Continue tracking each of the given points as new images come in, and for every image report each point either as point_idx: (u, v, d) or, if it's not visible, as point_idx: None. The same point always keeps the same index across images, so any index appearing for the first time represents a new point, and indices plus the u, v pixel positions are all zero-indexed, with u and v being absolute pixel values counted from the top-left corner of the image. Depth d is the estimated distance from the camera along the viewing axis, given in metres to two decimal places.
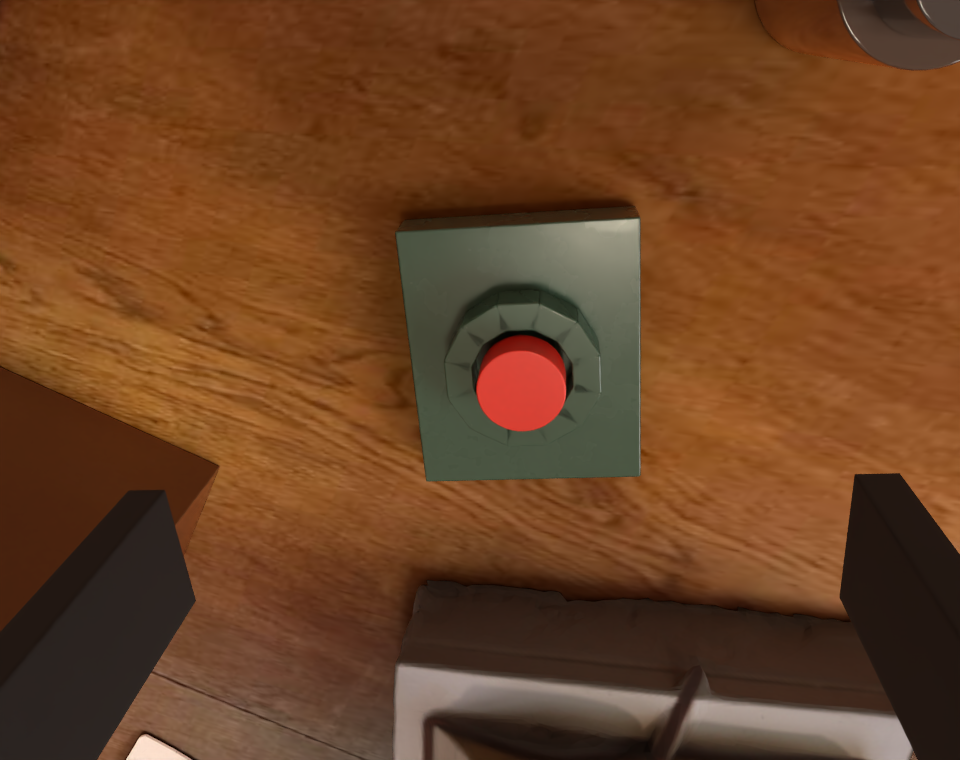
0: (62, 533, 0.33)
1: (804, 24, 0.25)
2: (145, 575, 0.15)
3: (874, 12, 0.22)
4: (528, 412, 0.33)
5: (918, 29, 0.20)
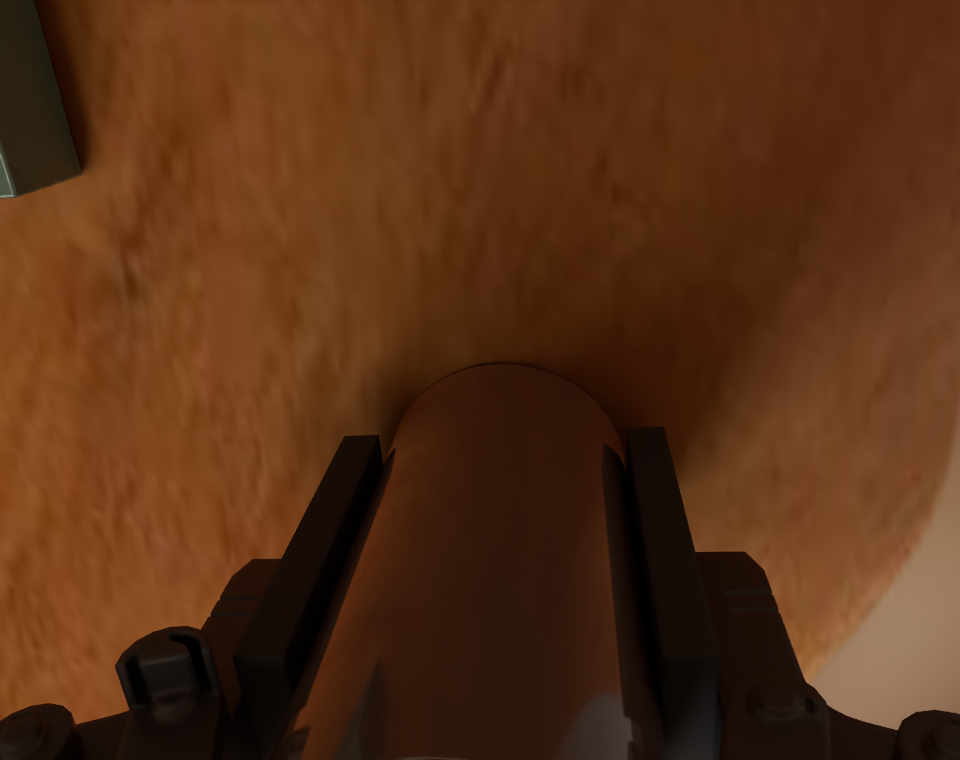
0: None
1: (383, 548, 0.12)
2: None
3: None
4: None
5: None
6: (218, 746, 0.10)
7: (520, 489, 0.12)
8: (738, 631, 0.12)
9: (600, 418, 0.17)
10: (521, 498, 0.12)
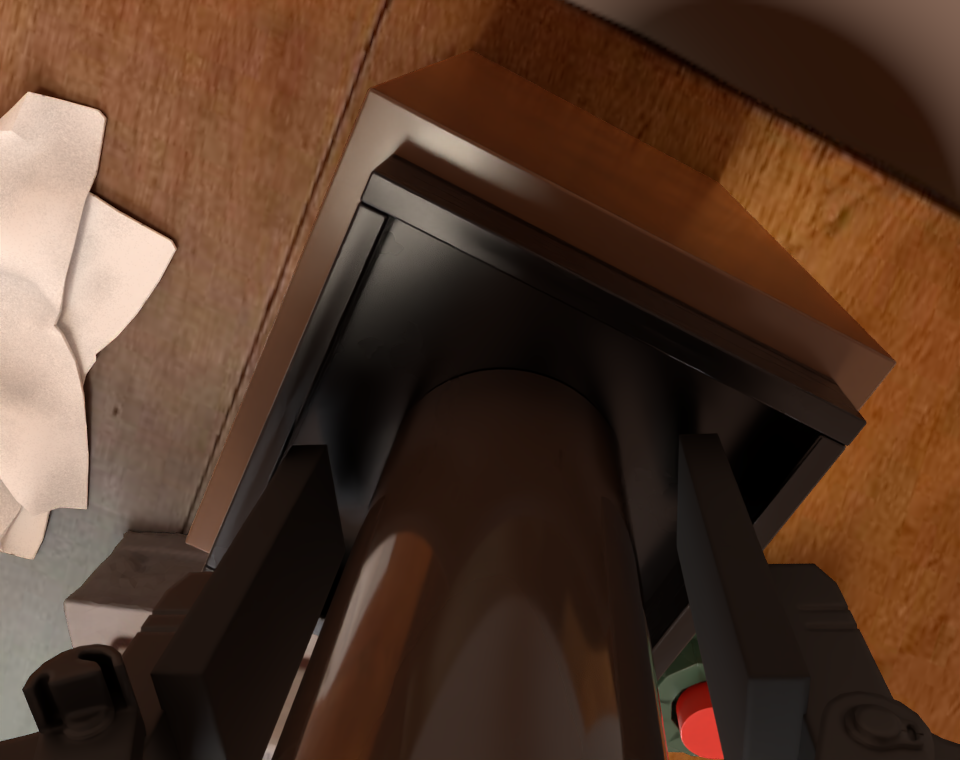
0: None
1: (382, 557, 0.12)
2: (316, 521, 0.16)
3: None
4: (698, 737, 0.41)
5: None
6: None
7: (520, 497, 0.12)
8: (818, 648, 0.11)
9: (600, 424, 0.16)
10: (521, 505, 0.12)
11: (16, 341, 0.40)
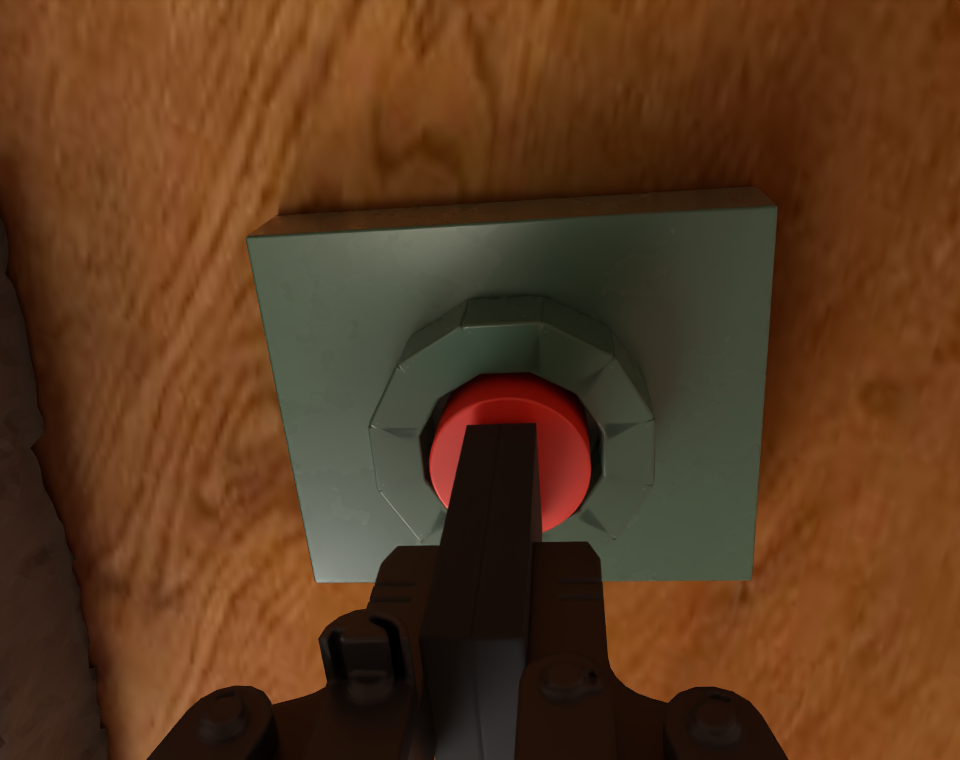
0: None
1: None
2: None
3: None
4: None
5: None
6: (407, 738, 0.10)
7: None
8: (560, 615, 0.12)
9: None
10: None
11: None
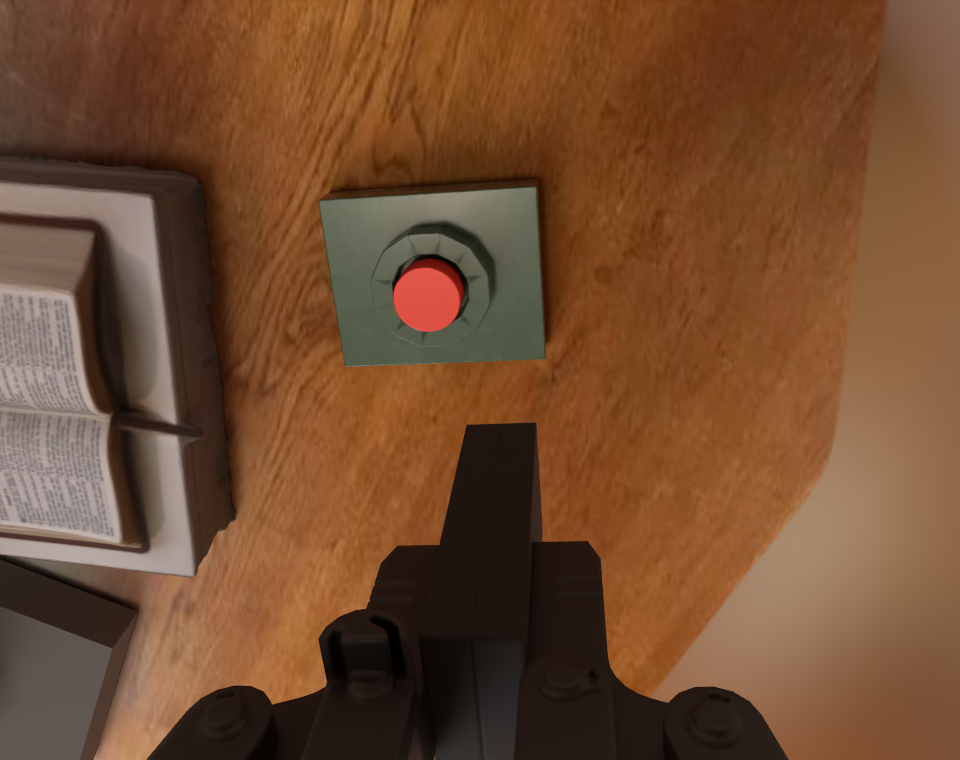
0: None
1: None
2: None
3: None
4: (409, 305, 0.43)
5: None
6: (407, 738, 0.10)
7: None
8: (560, 615, 0.12)
9: None
10: None
11: None
